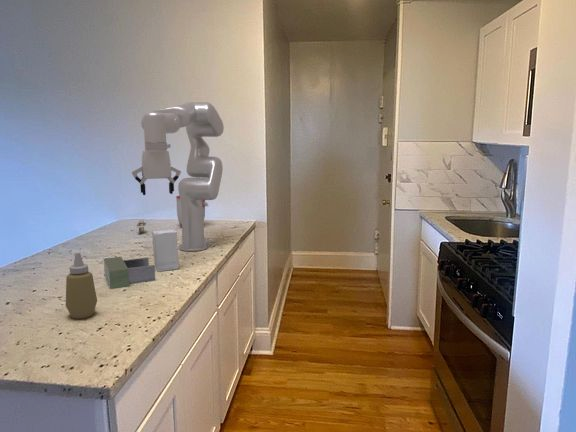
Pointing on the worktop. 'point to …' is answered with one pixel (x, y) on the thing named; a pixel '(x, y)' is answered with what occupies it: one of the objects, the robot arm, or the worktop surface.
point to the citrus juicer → (180, 209)
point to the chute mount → (127, 271)
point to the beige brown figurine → (141, 226)
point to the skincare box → (165, 250)
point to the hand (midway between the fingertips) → (157, 194)
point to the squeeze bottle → (80, 290)
